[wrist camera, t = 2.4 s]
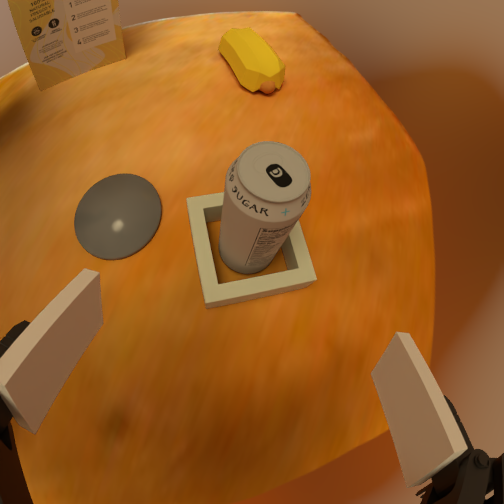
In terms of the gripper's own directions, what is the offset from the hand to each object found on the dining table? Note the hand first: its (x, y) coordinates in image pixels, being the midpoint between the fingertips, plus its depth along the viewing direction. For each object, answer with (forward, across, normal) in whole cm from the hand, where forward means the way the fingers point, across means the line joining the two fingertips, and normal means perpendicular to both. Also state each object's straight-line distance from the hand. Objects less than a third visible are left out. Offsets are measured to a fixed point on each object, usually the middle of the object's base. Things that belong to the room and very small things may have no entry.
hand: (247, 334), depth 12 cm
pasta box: (+42, -40, +18) cm, 61 cm away
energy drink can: (+20, 0, -5) cm, 21 cm away
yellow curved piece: (+44, -6, +19) cm, 48 cm away
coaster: (+20, -16, -4) cm, 26 cm away
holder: (+20, 0, -5) cm, 21 cm away
